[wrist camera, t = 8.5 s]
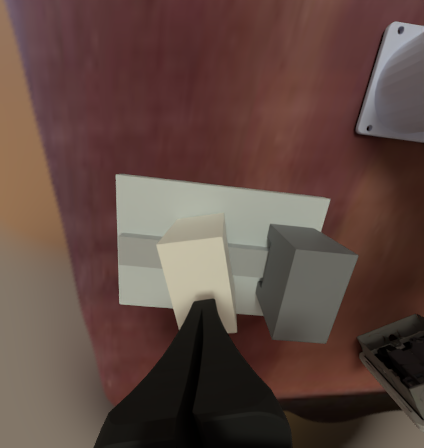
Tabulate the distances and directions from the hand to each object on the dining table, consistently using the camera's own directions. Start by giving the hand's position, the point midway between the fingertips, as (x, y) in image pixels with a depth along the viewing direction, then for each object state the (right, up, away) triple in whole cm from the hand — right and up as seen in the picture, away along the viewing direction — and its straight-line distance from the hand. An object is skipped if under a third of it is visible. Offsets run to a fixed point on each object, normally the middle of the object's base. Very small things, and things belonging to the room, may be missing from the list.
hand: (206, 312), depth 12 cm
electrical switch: (+23, -8, +13) cm, 27 cm away
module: (0, +3, +8) cm, 8 cm away
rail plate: (+1, +3, +9) cm, 9 cm away
